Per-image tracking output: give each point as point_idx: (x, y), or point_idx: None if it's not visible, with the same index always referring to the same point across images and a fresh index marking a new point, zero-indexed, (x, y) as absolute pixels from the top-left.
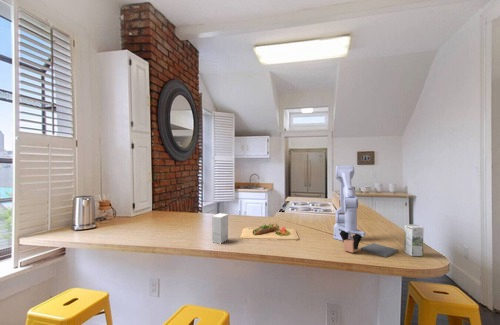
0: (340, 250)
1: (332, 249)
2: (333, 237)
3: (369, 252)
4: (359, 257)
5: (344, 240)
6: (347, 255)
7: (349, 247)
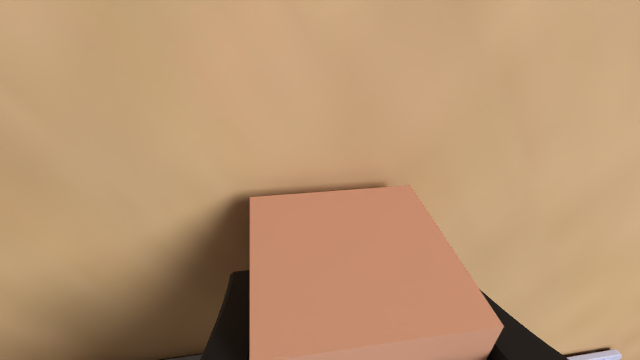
0: (451, 167)
1: (563, 108)
2: (616, 357)
3: (179, 358)
4: (85, 155)
5: (480, 328)
6: (262, 69)
7: (319, 242)
